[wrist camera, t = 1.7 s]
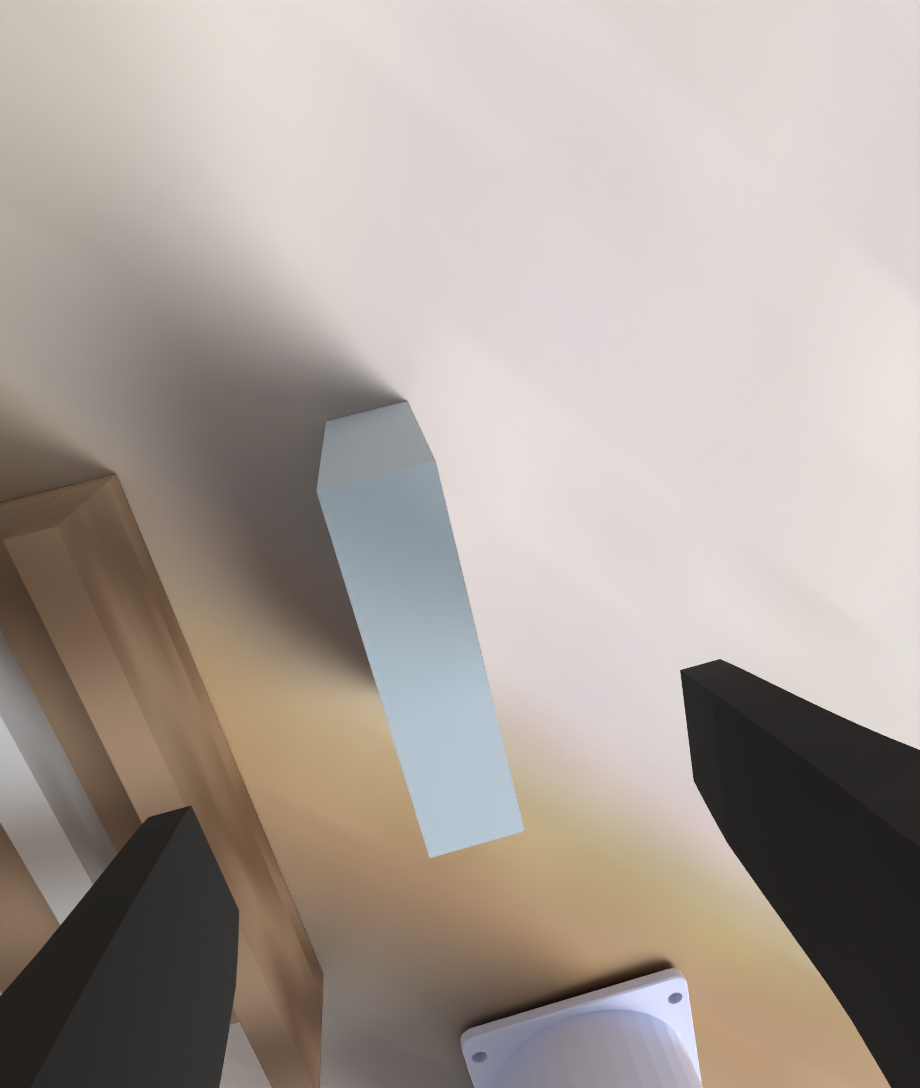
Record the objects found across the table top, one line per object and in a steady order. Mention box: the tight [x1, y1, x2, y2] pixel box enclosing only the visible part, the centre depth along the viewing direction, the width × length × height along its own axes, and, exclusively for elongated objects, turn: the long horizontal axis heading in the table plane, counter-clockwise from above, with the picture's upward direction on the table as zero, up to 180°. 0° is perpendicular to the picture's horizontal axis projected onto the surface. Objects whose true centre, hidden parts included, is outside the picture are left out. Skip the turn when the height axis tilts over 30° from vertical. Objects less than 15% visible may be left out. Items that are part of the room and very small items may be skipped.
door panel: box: [316, 401, 524, 858], centre depth 16 cm, size 8×2×6 cm, turn 12°
